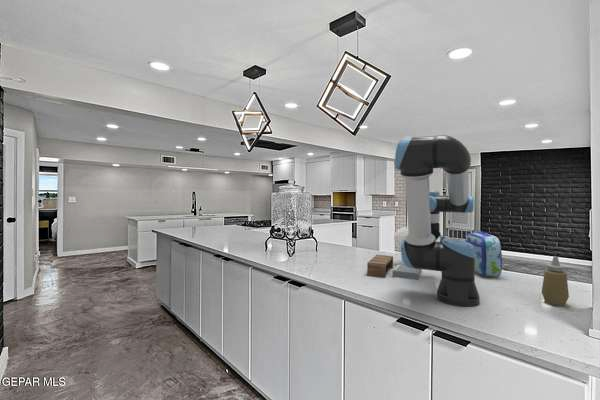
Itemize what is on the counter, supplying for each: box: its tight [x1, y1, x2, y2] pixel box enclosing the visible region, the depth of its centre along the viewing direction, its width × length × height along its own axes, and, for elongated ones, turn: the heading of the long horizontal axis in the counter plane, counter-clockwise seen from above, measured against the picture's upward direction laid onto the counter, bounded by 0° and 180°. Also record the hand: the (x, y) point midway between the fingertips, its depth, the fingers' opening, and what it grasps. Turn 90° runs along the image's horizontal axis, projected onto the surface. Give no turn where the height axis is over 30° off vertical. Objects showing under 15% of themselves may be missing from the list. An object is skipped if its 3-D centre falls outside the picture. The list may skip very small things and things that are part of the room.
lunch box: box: [465, 230, 503, 277], centre depth 165 cm, size 26×11×21 cm, turn 168°
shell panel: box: [392, 264, 423, 281], centre depth 161 cm, size 15×12×4 cm
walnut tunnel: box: [366, 254, 394, 279], centre depth 167 cm, size 22×9×7 cm, turn 154°
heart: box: [394, 226, 408, 252], centre depth 184 cm, size 28×16×22 cm, turn 131°
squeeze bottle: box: [541, 255, 570, 307], centre depth 119 cm, size 8×8×18 cm
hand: (430, 269), depth 157 cm, fingers closed
